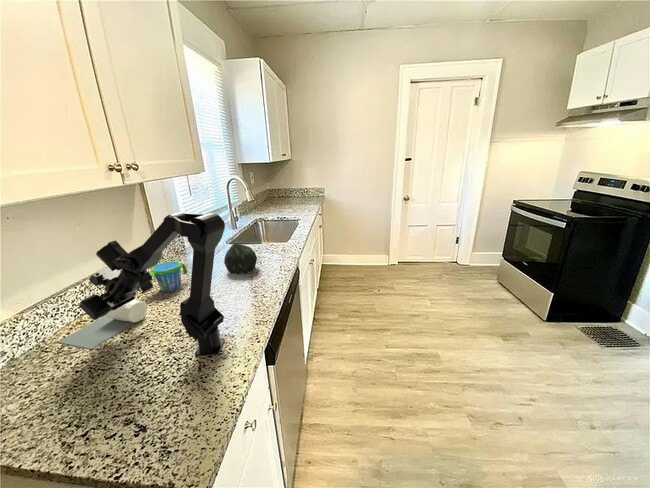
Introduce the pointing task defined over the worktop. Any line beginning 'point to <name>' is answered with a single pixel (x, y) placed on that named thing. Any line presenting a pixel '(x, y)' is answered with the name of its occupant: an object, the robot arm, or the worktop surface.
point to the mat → (96, 333)
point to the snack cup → (168, 275)
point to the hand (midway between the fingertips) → (110, 309)
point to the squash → (240, 259)
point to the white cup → (129, 312)
